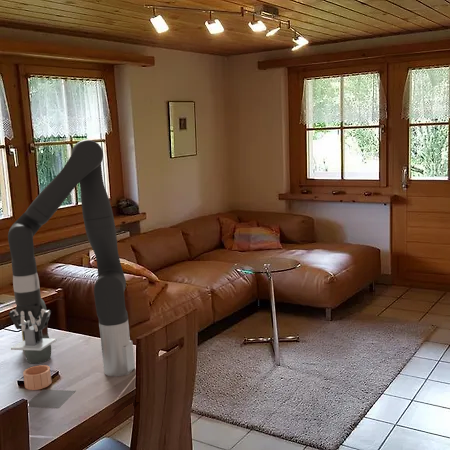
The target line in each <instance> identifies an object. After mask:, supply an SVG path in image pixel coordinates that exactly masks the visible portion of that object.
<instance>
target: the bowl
mask: <svg viewBox="0 0 450 450" xmlns="http://www.w3.org/2000/svg"><path fill="white" fill-rule="evenodd" d="M22 373H23V376H22V377H23V383H24V388H25V389H26V390H29V391H34V390H35V391H37V390H38V391H39V390H41V389H42V390H43V389H45V388H47V387H49V386H50V385H51V384H52V381H53V380H52V375H51V374H52V373H51V367H50V366H48V365H45V364H39V365H38V364H36V365H33V366H30V367H27V368H26V369H24V370H23V372H22Z"/></svg>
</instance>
